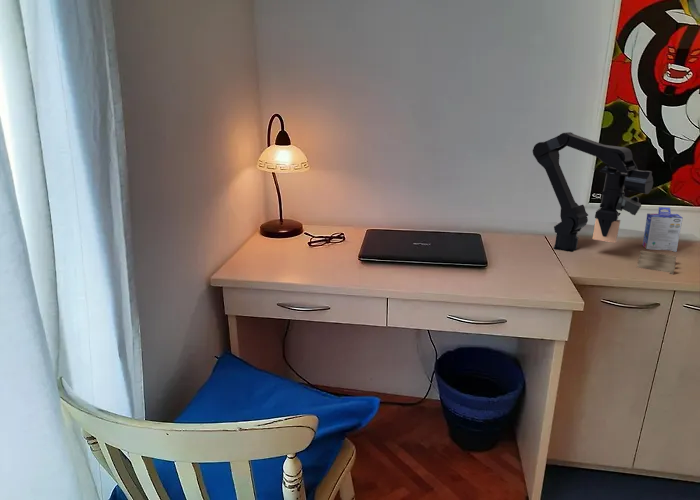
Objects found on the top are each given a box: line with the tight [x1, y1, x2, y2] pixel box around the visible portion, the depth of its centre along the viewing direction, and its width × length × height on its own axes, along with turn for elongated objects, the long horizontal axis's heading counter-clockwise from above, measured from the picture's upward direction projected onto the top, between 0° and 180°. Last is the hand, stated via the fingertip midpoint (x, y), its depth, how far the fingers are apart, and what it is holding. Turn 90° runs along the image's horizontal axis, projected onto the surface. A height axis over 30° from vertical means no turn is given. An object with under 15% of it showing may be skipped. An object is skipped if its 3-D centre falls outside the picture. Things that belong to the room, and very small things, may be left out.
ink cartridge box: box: [642, 206, 683, 253], centre depth 183 cm, size 10×6×14 cm, turn 78°
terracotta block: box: [592, 218, 622, 244], centre depth 174 cm, size 7×2×7 cm, turn 59°
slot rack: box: [636, 250, 677, 275], centre depth 169 cm, size 10×10×3 cm
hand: (605, 235), depth 174 cm, fingers closed on terracotta block, 2 cm apart
